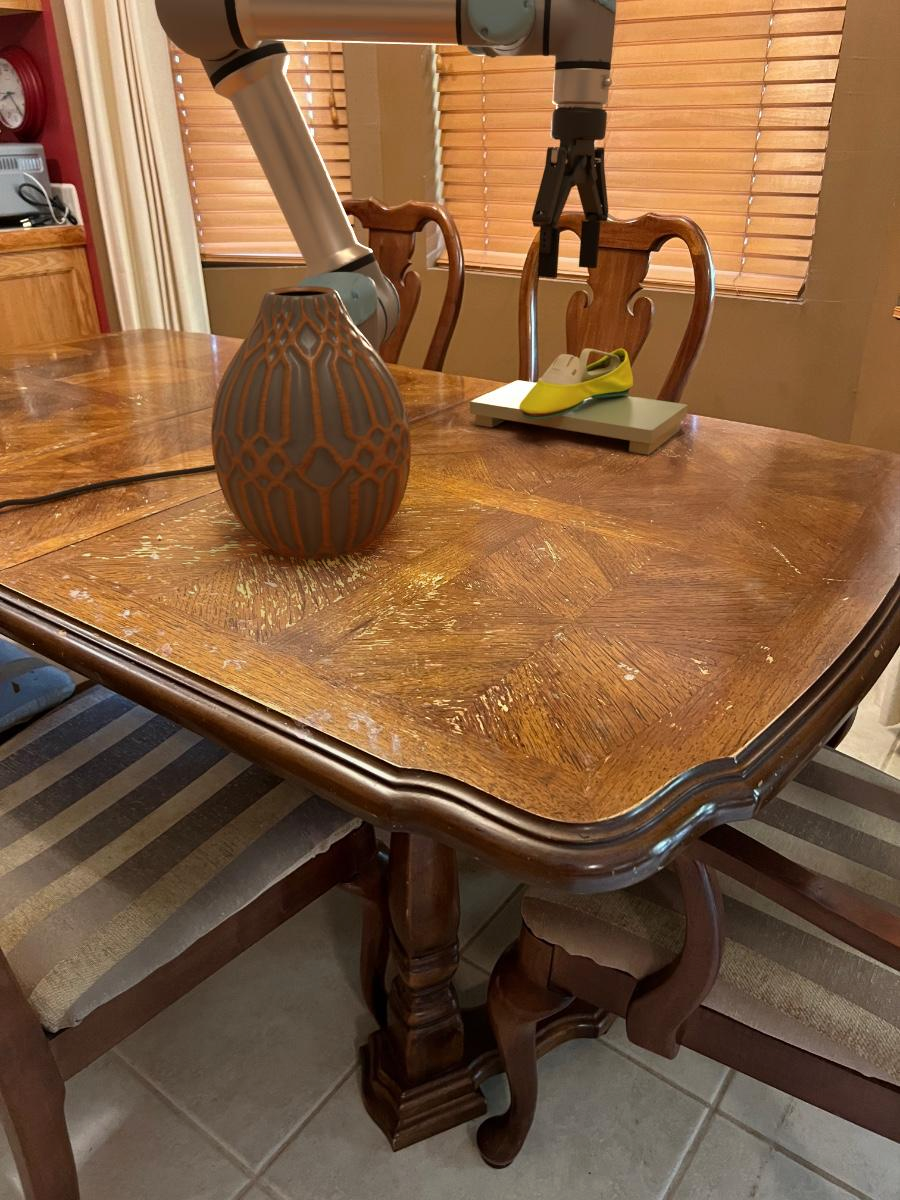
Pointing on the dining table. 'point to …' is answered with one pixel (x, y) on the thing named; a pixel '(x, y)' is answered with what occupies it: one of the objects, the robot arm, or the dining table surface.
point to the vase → (310, 430)
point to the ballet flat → (577, 383)
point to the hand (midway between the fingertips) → (568, 272)
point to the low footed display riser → (590, 416)
